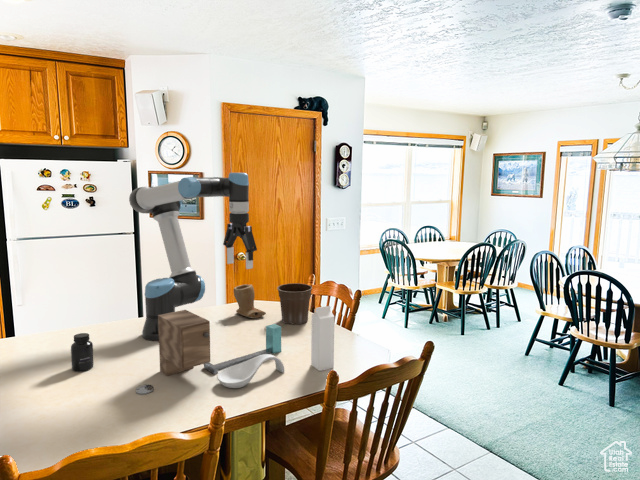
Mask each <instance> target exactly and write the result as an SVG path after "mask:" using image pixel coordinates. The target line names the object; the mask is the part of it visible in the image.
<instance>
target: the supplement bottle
mask: <svg viewBox="0 0 640 480" xmlns="http://www.w3.org/2000/svg"><path fill="white" fill-rule="evenodd" d="M90 339H91V338H90V334H89V333H88V332H80V333H77V334H74V335H73V343H71V345H70V353H71V354H70V356H71V357H70V359H71V370H72V371H73V372H76V373H77V372H78V373H79V372H82V373H83V372H87V371H89V370H92V369H93V367H94V366H95V365H94V344H93V342H92V341H91V340H90Z"/></svg>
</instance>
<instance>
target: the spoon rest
mask: <svg viewBox="0 0 640 480" xmlns="http://www.w3.org/2000/svg"><path fill="white" fill-rule="evenodd" d="M269 360H272V361H274V363H275V369H276V371H278V372H280V373H285V366H284V364H283V362H282V360H281V359H280V358H278V357H276V356H275V355H274V354H263V355H259V356H257V357H254V358H252V359H250V360H247V361H245V362H242V363H239V364H237V365H233V366H230V367H227V368H224V369H221V370H219V371H218V373H217V375H216V379H217V381H218V382H219V383H220V384H221V385H222V386H224V387H226V388H229V389H240V388H243V387H245V386H247V385H248V384H249V383H250V382H251V381H252V379H253V378H254V376H255V375H256V374H257V372H258V370H259V369H260V368H261V366H262V365H263V364H264V363H265V362H266V361H269Z"/></svg>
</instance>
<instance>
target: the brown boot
mask: <svg viewBox="0 0 640 480" xmlns="http://www.w3.org/2000/svg"><path fill="white" fill-rule="evenodd" d="M233 295H234V298H235V300H236V302H237V305H238V308H237V309H236V310H235V311H236V313H237V314H239V315H241V316H243V317H246V318H250V319H258V318H261V317H264V316H265V315H266V311H263V310H261V309H259V308H257V307H255V295H256V294H255V289H254V286H253V284H248V283H247V284H241V285H237V286H235V287H234V288H233Z"/></svg>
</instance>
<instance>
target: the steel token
mask: <svg viewBox="0 0 640 480" xmlns="http://www.w3.org/2000/svg"><path fill="white" fill-rule="evenodd" d="M153 391H154V386H153V385H151V384H142V385H139V386H137V387H136V389H135V392H136V394H137V395H141V396H144V395H149V394H150V393H153Z"/></svg>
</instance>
